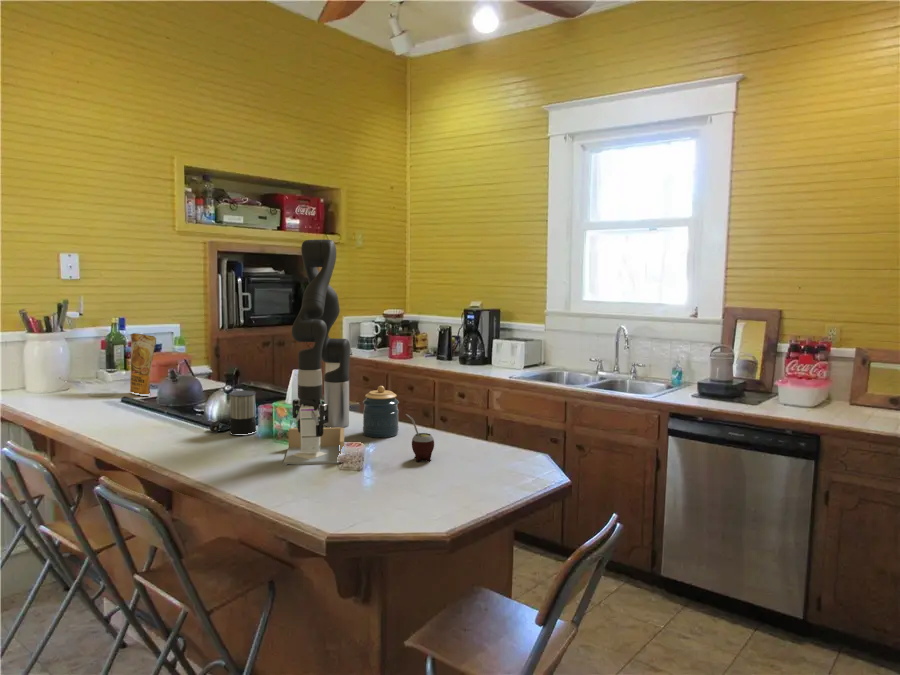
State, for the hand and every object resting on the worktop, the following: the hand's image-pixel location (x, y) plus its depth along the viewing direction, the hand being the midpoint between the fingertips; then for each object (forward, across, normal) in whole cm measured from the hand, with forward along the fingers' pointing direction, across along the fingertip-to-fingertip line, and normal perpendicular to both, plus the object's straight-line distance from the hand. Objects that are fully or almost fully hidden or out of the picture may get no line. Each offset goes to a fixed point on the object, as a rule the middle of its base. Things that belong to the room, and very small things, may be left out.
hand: (310, 434), depth 202 cm
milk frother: (+8, +45, -4) cm, 46 cm away
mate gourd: (+8, -29, -20) cm, 36 cm away
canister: (+8, +3, -36) cm, 37 cm away
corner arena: (+7, 0, -2) cm, 8 cm away
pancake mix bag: (+8, +136, -19) cm, 137 cm away
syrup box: (+5, 0, 0) cm, 5 cm away
